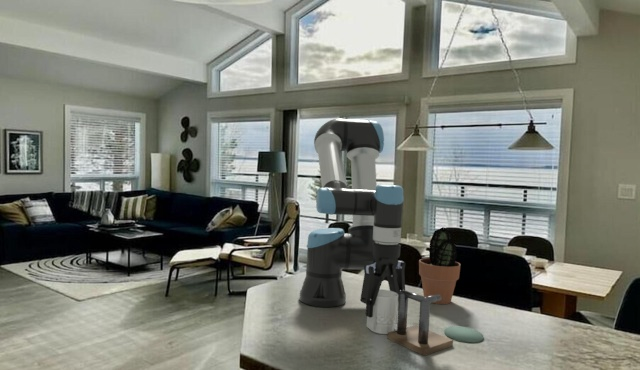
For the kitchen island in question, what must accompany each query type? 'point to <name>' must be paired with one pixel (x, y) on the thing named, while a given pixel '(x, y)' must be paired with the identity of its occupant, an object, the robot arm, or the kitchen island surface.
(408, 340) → the brown wooden board
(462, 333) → the end coaster
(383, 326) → the white cup
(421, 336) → the bent wire
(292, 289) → the kitchen island surface
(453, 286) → the potted plant
